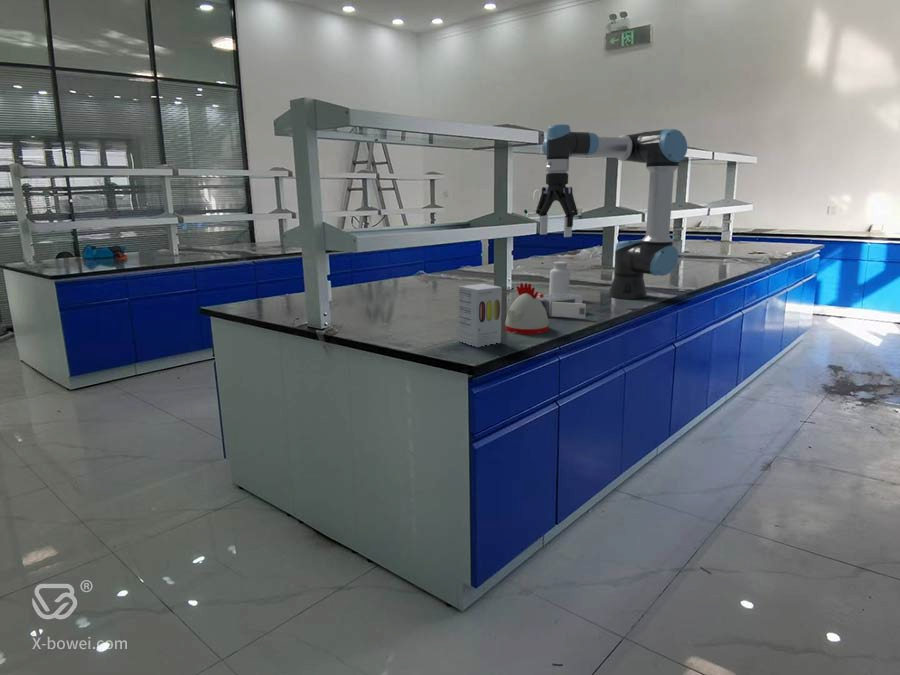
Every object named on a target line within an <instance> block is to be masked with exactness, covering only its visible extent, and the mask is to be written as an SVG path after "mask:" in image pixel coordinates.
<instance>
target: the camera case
mask: <svg viewBox="0 0 900 675" xmlns="http://www.w3.org/2000/svg"><path fill="white" fill-rule="evenodd" d="M537 298H538V299H539V300H540V301H541V303H542V304H543V306H544V307H545V310H546V314H547V317H548V318H550V317H549V301H553V302H563V303H581V304H583V298H584V297H583V295H581V294H575V293H570V292H569V293H567V292H561V293H552V294H549V293H545V294H544V293H538V295H537Z"/></svg>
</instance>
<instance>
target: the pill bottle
mask: <svg viewBox="0 0 900 675" xmlns="http://www.w3.org/2000/svg"><path fill="white" fill-rule="evenodd" d="M570 278H571V272H570V269H568V262H566V261H554V262H553V268H552V269H550V272H549V287H548V288H549V289H548V291H549V292H548V294H552V293H561V292H567V293H570Z"/></svg>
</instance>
